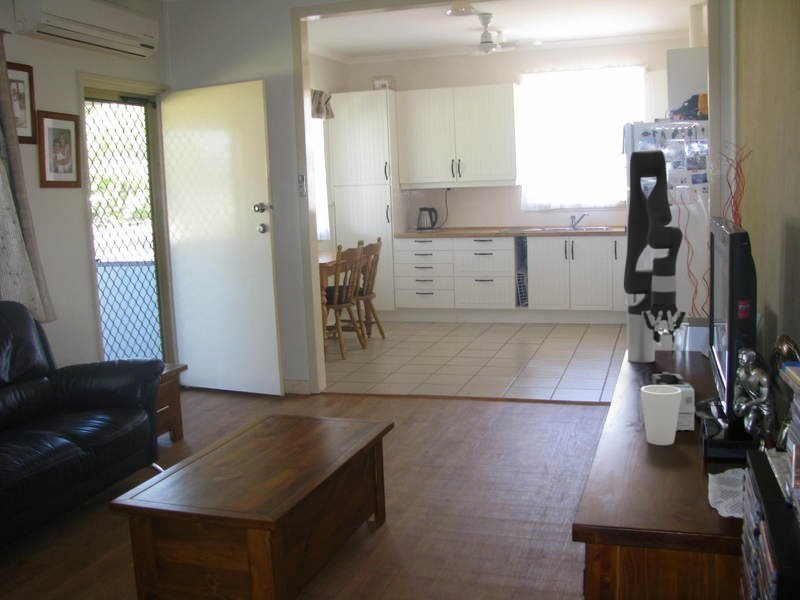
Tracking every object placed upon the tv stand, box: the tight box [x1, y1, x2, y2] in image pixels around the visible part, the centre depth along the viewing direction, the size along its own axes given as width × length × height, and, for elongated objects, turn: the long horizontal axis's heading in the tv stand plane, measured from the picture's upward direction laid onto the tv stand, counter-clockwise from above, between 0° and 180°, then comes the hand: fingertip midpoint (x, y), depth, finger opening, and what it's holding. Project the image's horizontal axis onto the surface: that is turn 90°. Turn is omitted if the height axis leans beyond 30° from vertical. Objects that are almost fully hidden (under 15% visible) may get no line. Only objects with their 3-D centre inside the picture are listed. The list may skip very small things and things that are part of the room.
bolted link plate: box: [656, 327, 673, 349], centre depth 265 cm, size 10×3×4 cm, turn 174°
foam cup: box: [640, 384, 682, 446], centre depth 201 cm, size 10×9×13 cm
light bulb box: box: [647, 384, 695, 432], centre depth 212 cm, size 11×7×11 cm, turn 84°
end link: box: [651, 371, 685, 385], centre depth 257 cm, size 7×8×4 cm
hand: (662, 341), depth 266 cm, fingers closed on bolted link plate, 3 cm apart
